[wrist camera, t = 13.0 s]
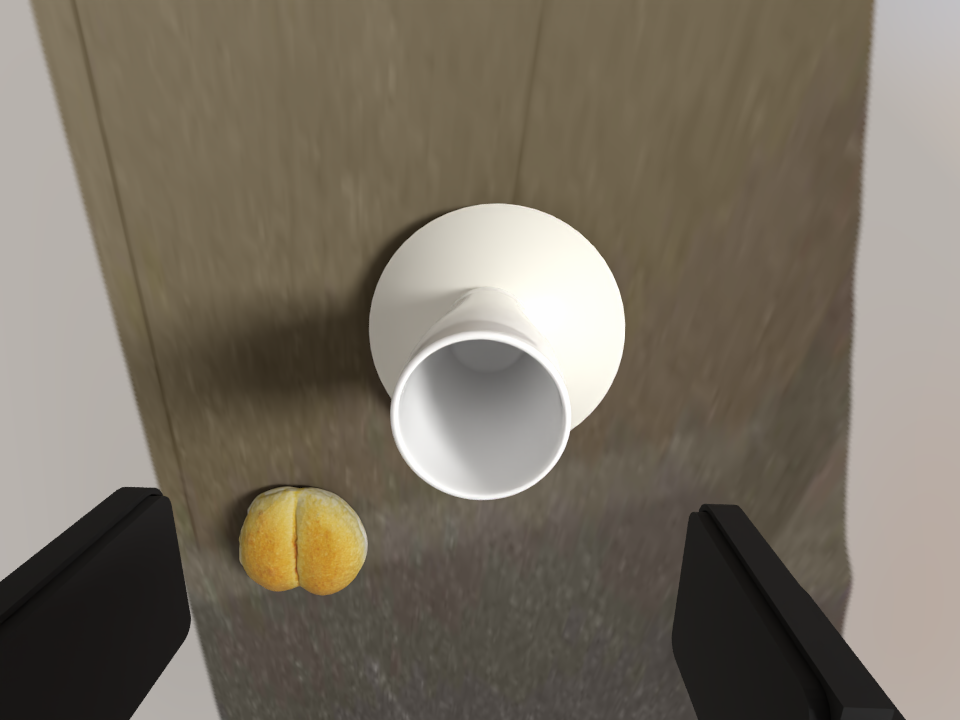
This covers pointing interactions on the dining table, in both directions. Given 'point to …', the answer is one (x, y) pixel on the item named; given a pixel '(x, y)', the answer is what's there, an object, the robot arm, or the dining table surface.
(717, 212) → the dining table surface
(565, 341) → the cream dish
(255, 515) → the bread roll
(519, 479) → the white cup
